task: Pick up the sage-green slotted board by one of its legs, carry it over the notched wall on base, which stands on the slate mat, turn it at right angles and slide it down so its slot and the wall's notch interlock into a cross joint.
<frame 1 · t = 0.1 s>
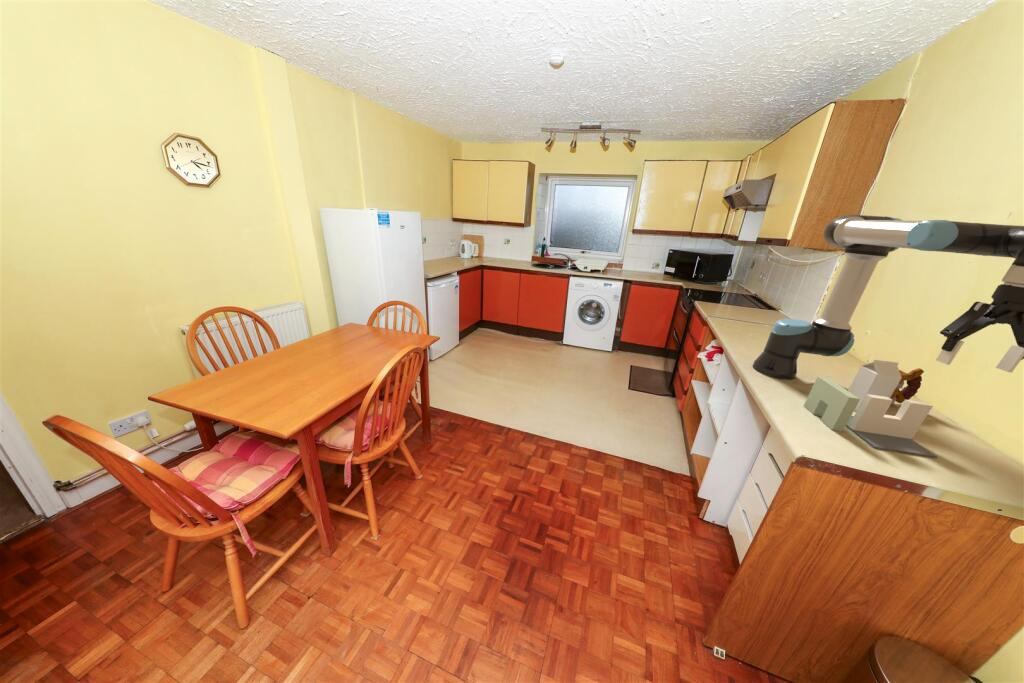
hand: (972, 366, 85), 28 cm above the worktop, fingers open, 13 cm apart
milk carton: (859, 409, 117), on the worktop
notched wall on base: (878, 434, 103), on the worktop
green plate: (821, 418, 109), on the worktop
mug: (879, 401, 125), on the worktop
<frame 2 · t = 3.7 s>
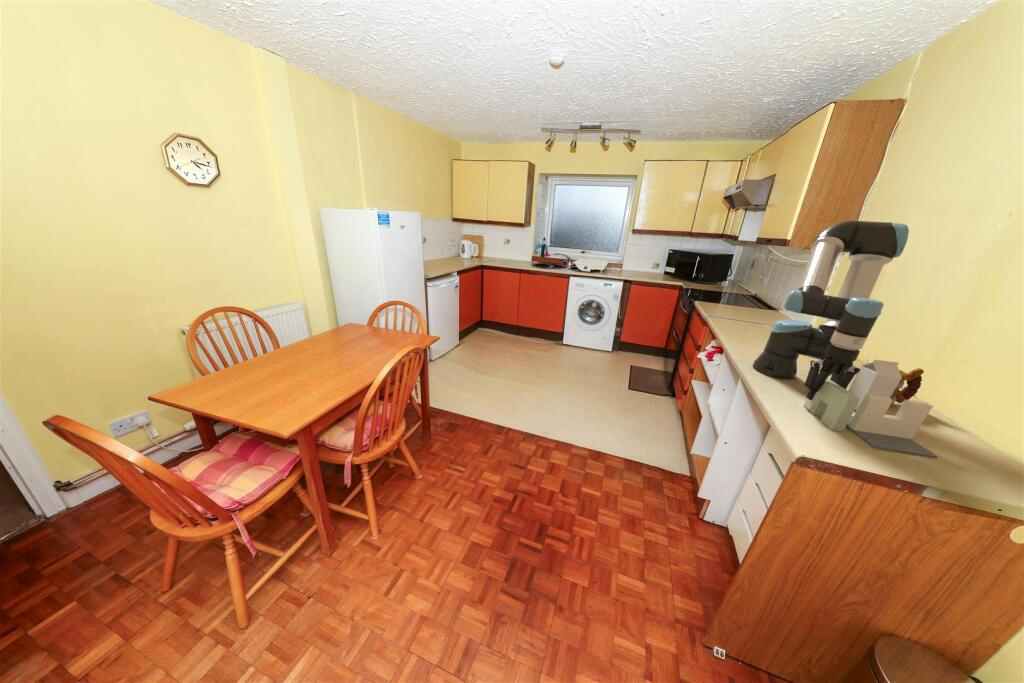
hand: (813, 408, 113), 1 cm above the worktop, fingers closed on green plate, 3 cm apart
green plate: (821, 418, 109), on the worktop, touching gripper
everything else where it was.
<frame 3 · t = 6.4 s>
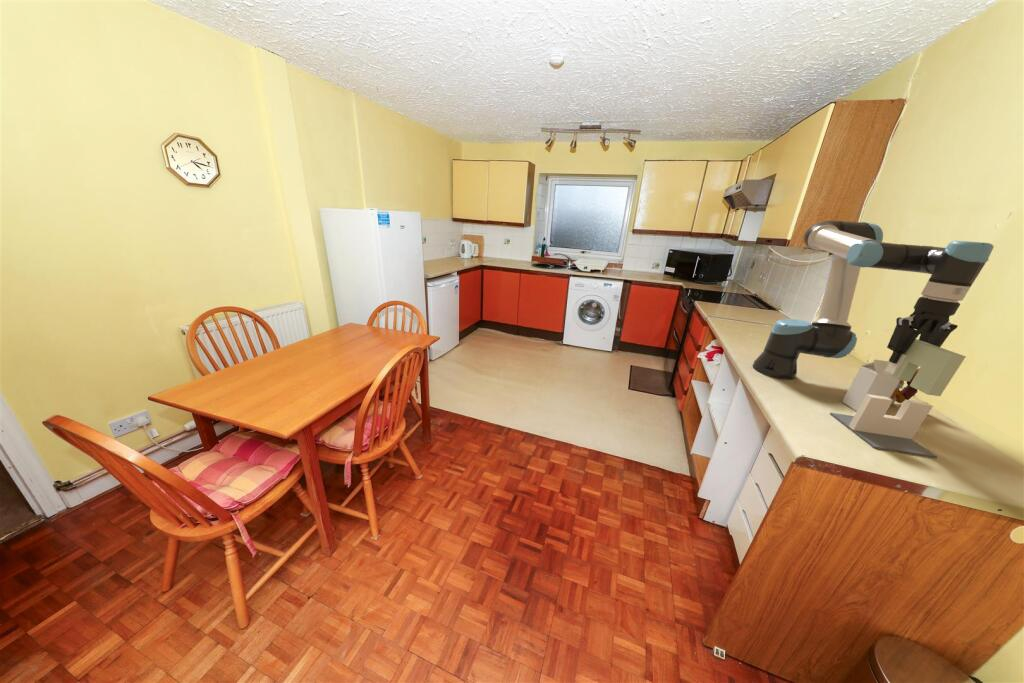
hand: (897, 373, 99), 19 cm above the worktop, fingers closed on green plate, 3 cm apart
green plate: (909, 383, 96), point 18 cm above the worktop, touching gripper
everything else where it was.
when the fingers open (4 cm above the worktop, at t = 8.9 s): green plate drops 2 cm, resting on notched wall on base.
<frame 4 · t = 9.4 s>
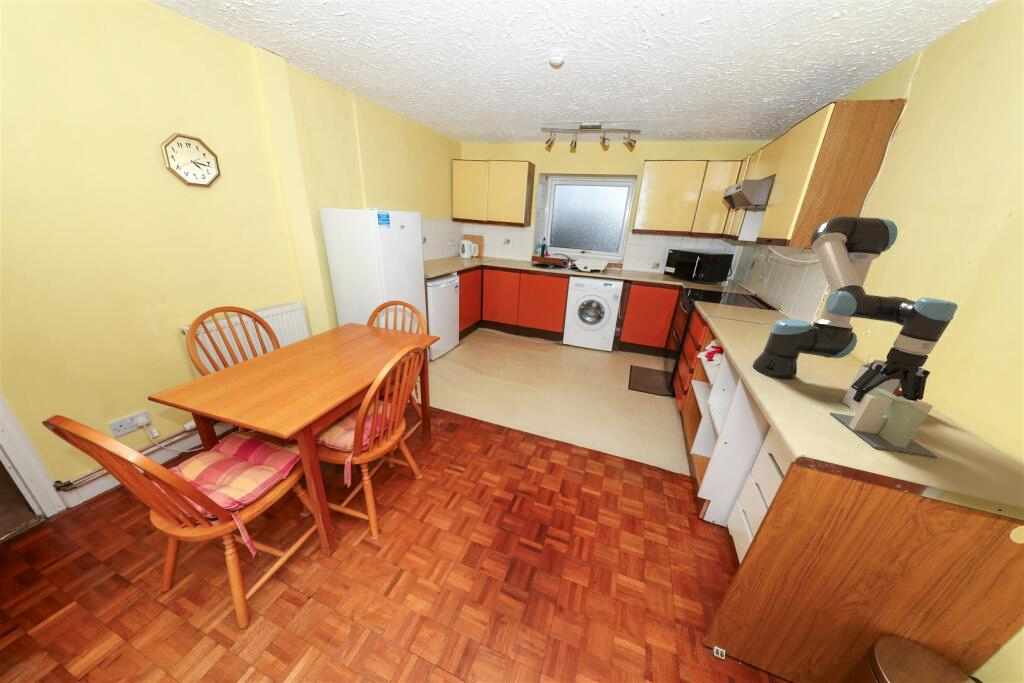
hand: (873, 413, 105), 5 cm above the worktop, fingers open, 10 cm apart
green plate: (879, 432, 102), point 1 cm above the worktop, touching notched wall on base
everything else where it was.
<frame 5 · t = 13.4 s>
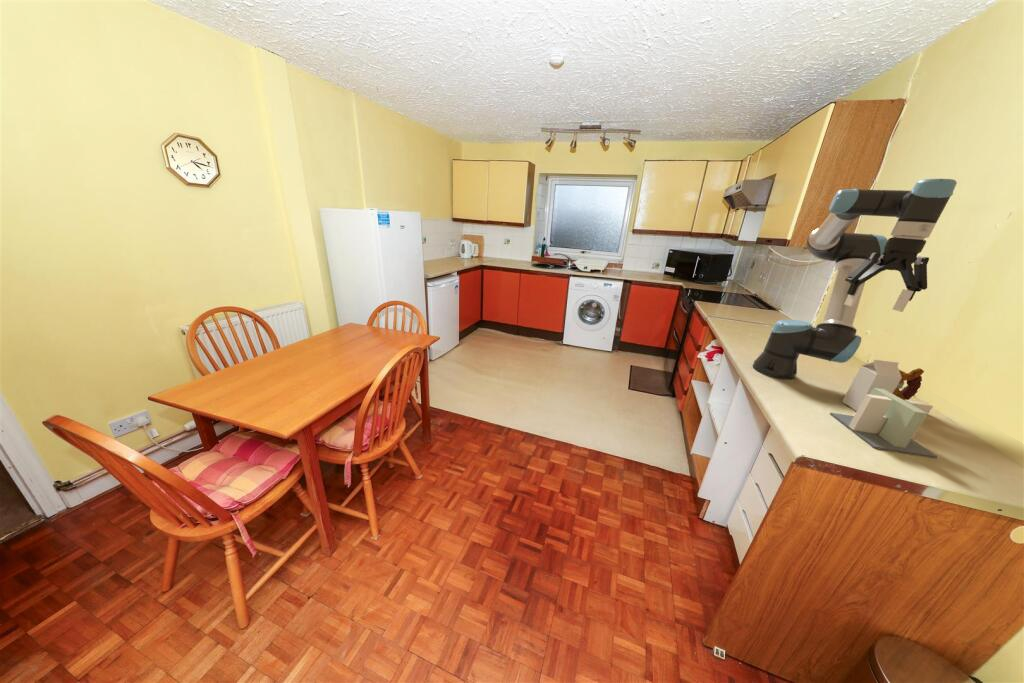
hand: (872, 308, 103), 37 cm above the worktop, fingers open, 13 cm apart
nothing on the worktop moved.
at the end: green plate 0.1 cm off-centre on the notched wall on base, point 0.6 cm above the notched wall on base's base; green plate tilted 0°; the gripper is holding nothing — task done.
